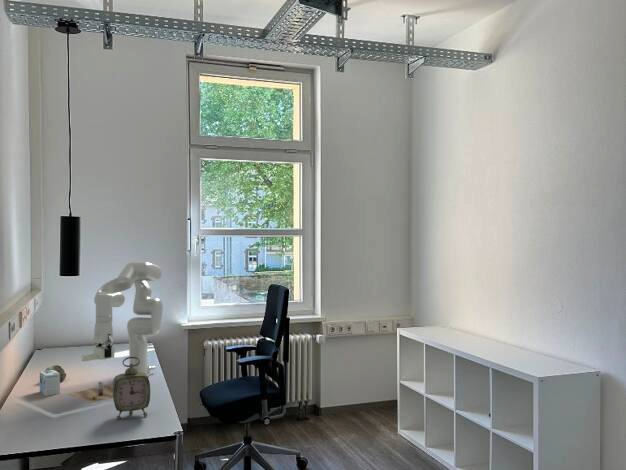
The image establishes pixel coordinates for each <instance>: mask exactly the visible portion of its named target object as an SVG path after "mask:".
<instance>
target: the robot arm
mask: <svg viewBox="0 0 626 470" xmlns="http://www.w3.org/2000/svg"><path fill="white" fill-rule="evenodd" d="M161 278H162V269H161V267H160V266H159V265H157V264H154V263H150V262H147V261H146V262H145V261H144V262H143V261H140V262H139V261H134V262H133V261H132V262H129V263H127V264H125V267H123V269H122V270H121V271H120V273H119V275H118V276H117V277H115V278H113V279H111V280H109V281H108V282H105V283H104V284H103V285H101V286H100V288H99V289H98V290H97V291H96V293H95V295H94V298H93V300H94V301H93V302H94V304H95V323H94V329H93V330H94V333H93V342H94V343H95V347H100V346H105V348H106V349H105V358H108V357H111V349H112V347H114V346H113V345H114V342H115V341H114V339H113V337H114V333H113V332H114V331H113V308H120V307H122V305H124V304H125V300H126V298H125V295H124V294H123V292H124V291H127V290H129V289H131V288H132V286H135V288H134V289H135V293H134V299H133V306H132V307H133V308H132V312H133V314H135V315H136V316H139V317H132V318H129V320H128V322H127V324H126V327H127V328H126V329H127V334H128V346H129V347H128V350H129V351H128V355H129V356H128V357H137V358H138V359H139V360H140V363H139V364H138V365H137V366H134V368H136V370H137V372H143V373H145V374H146V375H147V377H149V376H150V375H151V371H153V370H156V366H155V365H152V366H150V365H149V366H148V341H147V338H146V336H156V335H158V334H159V332H160V329H161V326H162V325H161V324H162V317H163V311H164V305H163V302H162V300H161V299H160V298H157V297H154V298H153V297H152V292H153V291H152V288H151V285H150V284H149V282H157V281H159V280H160V279H161ZM141 316H144V317H141ZM145 316H146V317H145ZM147 316H149V317H147ZM128 361H129V362H128V364H129V365H130V364H131V363H132V365H135V364H137V363H138V362H139V361H138V360H137V359H135V358H130V359H128ZM128 368H130V367H128Z"/></svg>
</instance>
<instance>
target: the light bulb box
mask: <svg viewBox="0 0 626 470" xmlns="http://www.w3.org/2000/svg"><path fill="white" fill-rule="evenodd" d="M60 384H61V382H60V373H58V372H57V371H55V370H49V371H46V370H44V371H39V393H41V394H42V395H44V396H45V397H48V396H51V395H52V396H53V395H58V394H60V393H61V392H60V391H61V385H60Z"/></svg>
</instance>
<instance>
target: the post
mask: <svg viewBox="0 0 626 470" xmlns="http://www.w3.org/2000/svg"><path fill="white" fill-rule="evenodd" d="M103 386H104V381H99V382H98V387H99V396H102V395H103Z"/></svg>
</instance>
